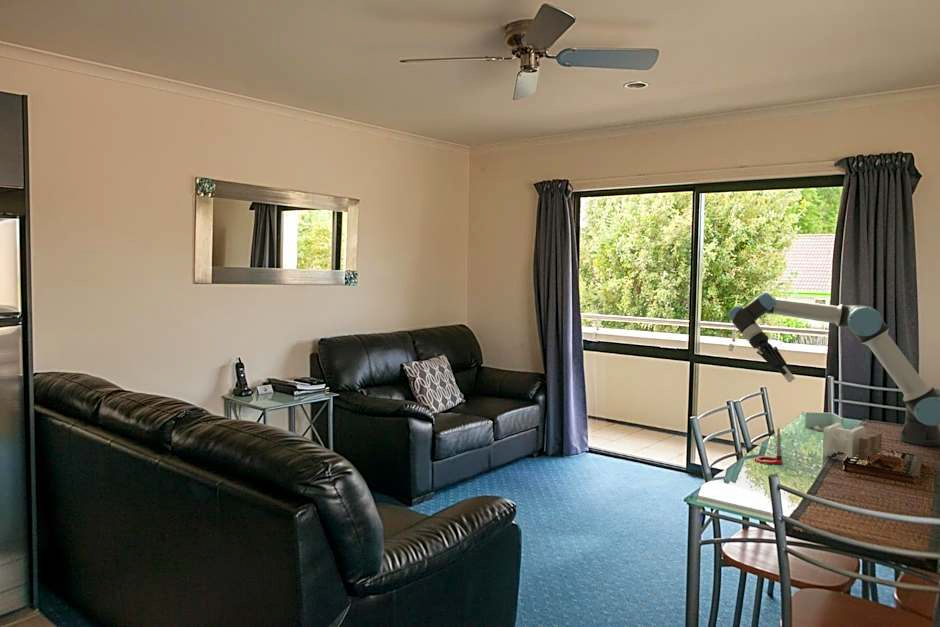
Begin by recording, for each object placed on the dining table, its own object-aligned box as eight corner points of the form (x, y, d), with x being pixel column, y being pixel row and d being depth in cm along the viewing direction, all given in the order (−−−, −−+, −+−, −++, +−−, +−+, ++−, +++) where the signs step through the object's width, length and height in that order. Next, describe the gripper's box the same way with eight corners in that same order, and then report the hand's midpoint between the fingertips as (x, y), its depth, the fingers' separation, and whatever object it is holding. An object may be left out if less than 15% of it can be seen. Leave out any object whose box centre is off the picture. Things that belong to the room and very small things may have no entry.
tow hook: (756, 464, 254) (783, 465, 251) (755, 430, 253) (782, 430, 251) (753, 458, 262) (779, 459, 259) (752, 425, 261) (779, 425, 259)
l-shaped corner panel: (804, 428, 313) (805, 411, 312) (832, 429, 311) (833, 412, 310) (813, 434, 301) (814, 417, 300) (842, 435, 299) (843, 418, 299)
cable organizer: (851, 462, 255) (852, 432, 254) (821, 456, 263) (822, 427, 262) (865, 455, 265) (866, 425, 264) (835, 450, 273) (837, 421, 272)
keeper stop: (845, 452, 270) (846, 427, 269) (880, 460, 260) (881, 433, 259) (827, 458, 262) (828, 432, 261) (863, 466, 251) (865, 439, 250)
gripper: (758, 341, 301) (793, 384, 289) (741, 343, 294) (777, 387, 281) (770, 330, 297) (806, 373, 285) (753, 331, 289) (790, 376, 277)
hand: (791, 380), depth 283 cm, fingers closed
